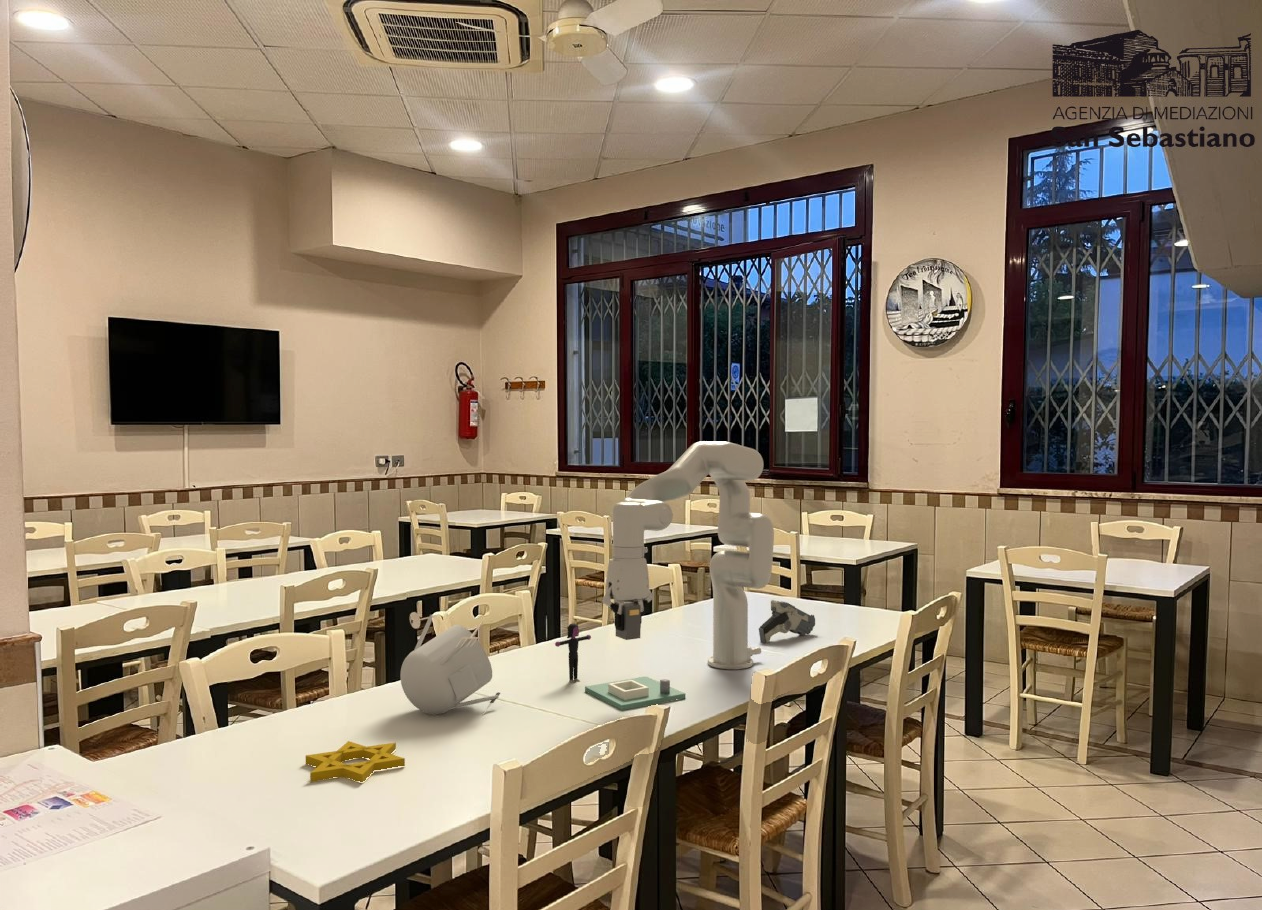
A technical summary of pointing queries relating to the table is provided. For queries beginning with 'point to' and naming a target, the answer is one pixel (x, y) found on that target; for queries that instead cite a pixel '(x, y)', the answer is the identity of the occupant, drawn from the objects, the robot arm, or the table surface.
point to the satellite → (445, 669)
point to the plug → (630, 621)
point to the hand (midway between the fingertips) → (628, 627)
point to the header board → (635, 692)
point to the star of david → (333, 767)
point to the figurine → (573, 649)
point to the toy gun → (786, 621)
